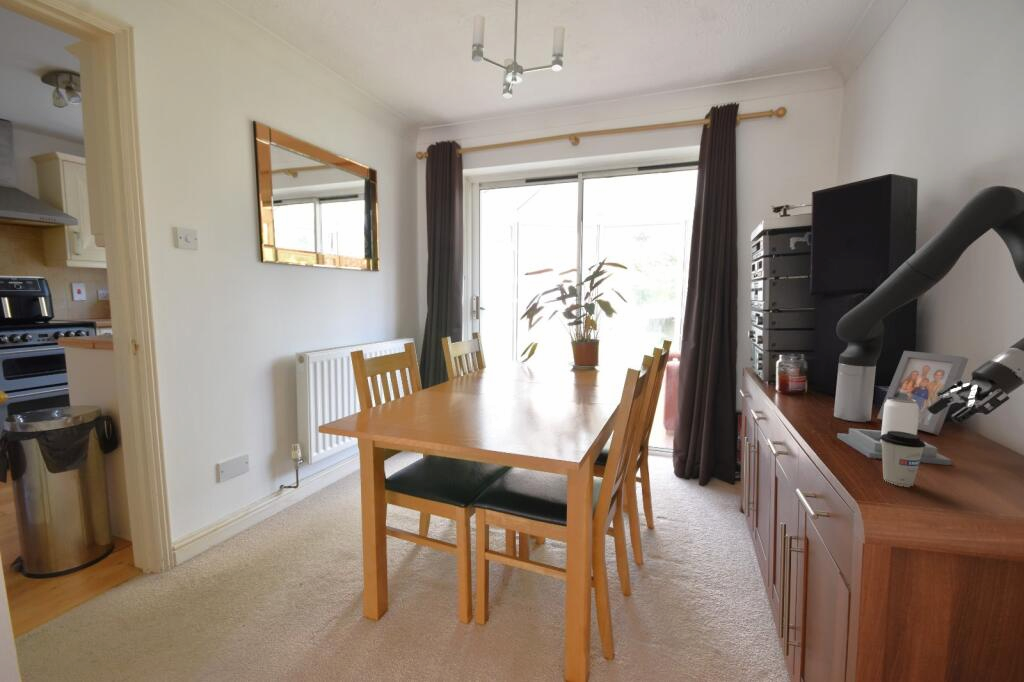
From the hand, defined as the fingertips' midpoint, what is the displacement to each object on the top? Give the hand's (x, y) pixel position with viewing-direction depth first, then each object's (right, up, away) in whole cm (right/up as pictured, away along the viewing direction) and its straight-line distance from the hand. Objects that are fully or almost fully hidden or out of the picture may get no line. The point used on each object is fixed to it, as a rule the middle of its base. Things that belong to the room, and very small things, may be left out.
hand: (941, 415), depth 108 cm
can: (-10, -8, +1) cm, 13 cm away
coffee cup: (-25, -11, -17) cm, 32 cm away
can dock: (-10, -9, +3) cm, 14 cm away
